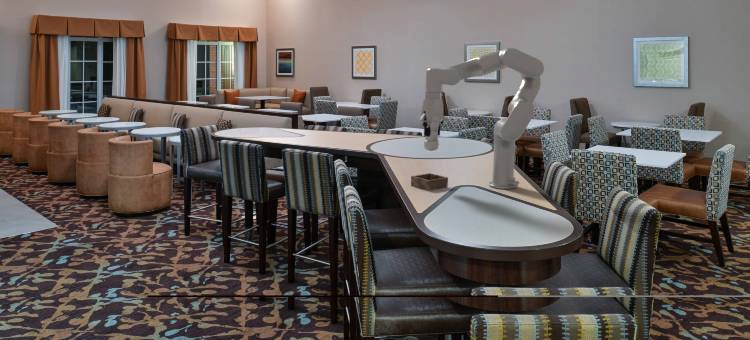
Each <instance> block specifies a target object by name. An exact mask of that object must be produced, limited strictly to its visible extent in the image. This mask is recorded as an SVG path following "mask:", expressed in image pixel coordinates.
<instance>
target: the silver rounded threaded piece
mask: <svg viewBox="0 0 750 340" xmlns="http://www.w3.org/2000/svg"><path fill="white" fill-rule="evenodd" d="M426 120H427V119H426ZM439 122H440V117H439V116H438V115H435V116H434V117H433V118H432V121H431V122H430V125H429V128H430V136H429V137H427V136H424V137H425V139H424V144H423V147H424V149H425V150H427V151H430V152H432V151H437V150H438V149H439V145H440V144H439V143H440V142H439V136H438V127H439ZM426 123H427V122H426Z"/></svg>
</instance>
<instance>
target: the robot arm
mask: <svg viewBox="0 0 750 340" xmlns="http://www.w3.org/2000/svg"><path fill="white" fill-rule="evenodd" d="M506 68H509V69H511V70H513V71H515V72H518V73H519V75H520V77H521V83H520V86H519V87H518V90H517V92H515V95H514V96H513V98H512V99H511V101H510V103H509V104H508V106H507V112H508V114H509V115H508V117H507V118H505V117H504V118H501V119H498V120H497V121H496V122H495V124H494V126H493V127H494V128H493V145H494V146H493V160H492V161H493V162H492V163H493V164H492V178H491V181H490V182H488V186H489V187H491V188H494V189H500V190H508V189H509V190H512V189H515V188H517V187H518V186H519V184H520V181H517V180H516V177H515V158H516V157H515V156H516V141H518V140H519V139H520V138H521V137H522V135H523V134H524V132H525V131H526V128H528V125H529V124H530V122H531V121H532V119H533V117H534V114H535V106H534V102H535V99H536V97H537V96H538V94H539V91H540V89H541V83H542V82H541V76H542V75H543V74H544V71H545V66H544V63H543V62H542V60H541V59H538V58H536V57H534V56H532V55H530V54H527V53H525V52H523V51H521V50H519V49H517V48H515V47H505V48H501V49H498V50H495V51H492V52H489V53H486V54H483V55H481V56H477V57H474V58H472V59H469V60H467V61H464V62H461V63H458V64H454V65H451V66H449V67H446V68H439V67H437V68H436V67H430V68H426V71H425V94H424V99H423V101H422V105H421V115H420V118H419V119H418V120H419V122H420V123H421V125H422V128H423V136H424V137H426V136H427V137H429V136H430V128H429V125H430V122H431V121H432V118H433V117H434V116H435V115H438V116H439V117H440V122H439V127H438V137H439V136H441V127H442V125H443V124H444V122H445V121H446V116H445V115H444V102H443V101H444V100H443V96H444V93H443V85H448V86H456V85H458V84H459V83H460V82H461V81H462V80H467V79H469V78H474V77H483V76H486V75H490V74H492V73H495V72H497V71H500V70H503V69H506ZM426 119H427V120H426ZM426 122H427V123H426Z"/></svg>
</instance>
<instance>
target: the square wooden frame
mask: <svg viewBox="0 0 750 340" xmlns="http://www.w3.org/2000/svg"><path fill="white" fill-rule="evenodd" d="M448 183H449V177H447V176H443V175H439V174H435V173H430V172H429V173H424V174H423V173H422V174H416V175H411V176H410V186H411V187H414V188H418V189H421V190H425V191H429V192H430V191H434V190H439V189H445V188H448V186H449V184H448Z"/></svg>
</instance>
